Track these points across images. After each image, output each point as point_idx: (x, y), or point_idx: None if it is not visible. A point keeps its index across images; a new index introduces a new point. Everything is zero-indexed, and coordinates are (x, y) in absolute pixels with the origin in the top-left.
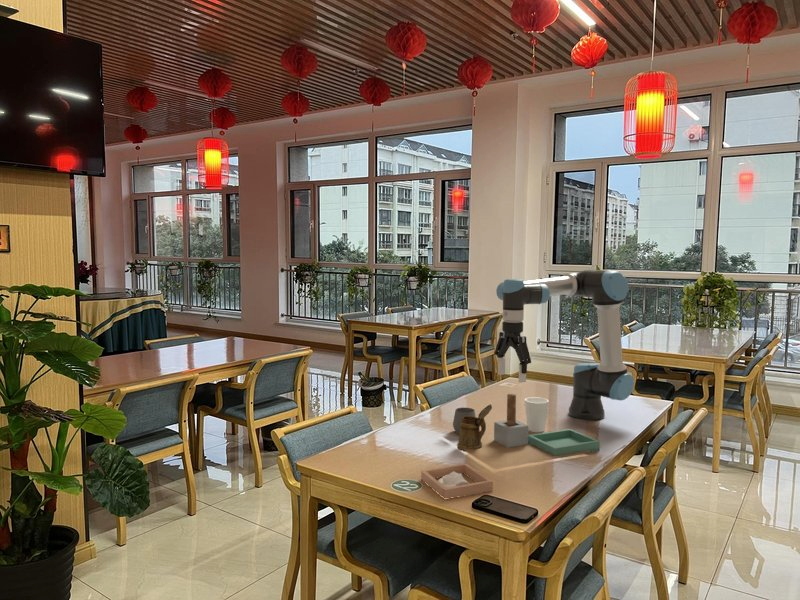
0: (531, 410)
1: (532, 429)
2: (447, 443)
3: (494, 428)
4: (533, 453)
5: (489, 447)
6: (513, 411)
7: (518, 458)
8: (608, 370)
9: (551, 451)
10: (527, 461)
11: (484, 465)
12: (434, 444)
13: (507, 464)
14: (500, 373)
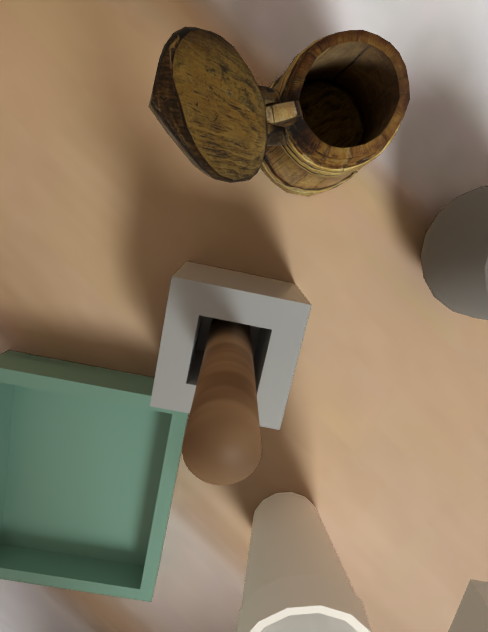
0: (284, 569)
1: (276, 504)
2: (429, 83)
3: (302, 296)
4: (96, 323)
5: (260, 220)
6: (197, 381)
7: (82, 224)
8: None
9: (18, 361)
10: (34, 229)
11: (90, 16)
12: (463, 10)
13: (47, 124)
14: (473, 621)
